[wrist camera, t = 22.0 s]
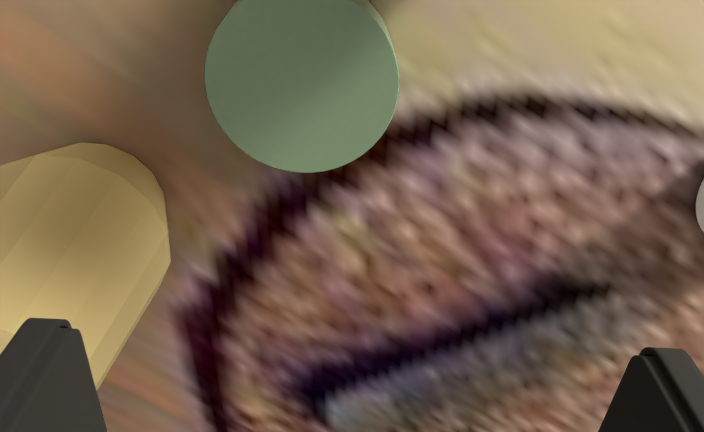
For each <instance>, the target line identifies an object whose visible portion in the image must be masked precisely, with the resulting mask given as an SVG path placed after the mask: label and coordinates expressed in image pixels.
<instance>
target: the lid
mask: <svg viewBox="0 0 704 432" xmlns="http://www.w3.org/2000/svg"><path fill="white" fill-rule="evenodd" d="M204 81H205V89H206V94H207V98H208V102H209V105H210V108H211V110H212V112H213V115H214V117H215V119H216V120H217V122H218V124H219V126H220V127H221V128H222V130H223V131H224V133H225V134H226V135H227V137H228V138H229V139H230V140H231V141H232V142H233V143H234V144H235V145H236V146H237V147H239V148H240V149H241V150H242V151H243V152H245V153H246V154H248V155H249V156H251V157H252V158H254V159H255V160H257V161H259V162H261V163H263V164H265V165H268V166H271V167H274V168H276V169H280V170H285V171H290V172H298V173H313V172H322V171H327V170H331V169H335V168H338V167H340V166H343V165H345V164H347V163H349V162H351V161H353V160H355V159H357V158H358V157H360V156H361V155H363V154H364V153H365V152H366V151H368V150H369V149H370V148H371V147H372V146H373V145H374V144H375V143H376V142H377V141H378V140H379V138H380V137H381V136H382V135H383V133H384V132H385V130H386V129H387V127H388V125H389V123H390V121H391V119H392V117H393V114H394V111H395V108H396V105H397V100H398V95H399V69H398V65H397V60H396V55H395V52H394V48H393V44H392V40H391V37H390V35H389V32H388V29H387V27H386V25H385V23H384V21H383V19H382V18H381V16H380V15H379V13H378V12H377V10H376V9H375V8H374V6H373V5H372V4H371V3H370V2H369V1H368V0H238V1H237V2H236V3H235V4H234V5H233V6H232V8H231V9H230V10H229V12H228V13H227V15H226V16H225V18H224V19H223V20H222V22H221V23H220V25H219V26H218V28H217V29H216V31H215V33H214V35H213V37H212V40H211V42H210V44H209V47H208V49H207V55H206V61H205V67H204Z"/></svg>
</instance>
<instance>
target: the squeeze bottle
mask: <svg viewBox="0 0 704 432" xmlns="http://www.w3.org/2000/svg"><path fill="white" fill-rule="evenodd" d="M170 263H171V259H170V248H169V236H168V226H167V217H166V208H165V199H164V193H163V191H162V189H161V187H160V185H159V184H158V182H157V180H156V178H155V176H154V175H153V173H152V172H151V171H150V170H149V169H148V168H147V167H145V166H144V165H143V164H142V163H141V162H140V161H139V160H137V159H136V158H135V157H134V156H133V155H131V154H128V153H126V152H124V151H121V150H119V149H117V148H114V147H112V146H110V145H107V144H96V143H84V142H80V143H76V144H73V145H69V146H65V147H62V148H58V149H55V150H51V151H48V152H44V153H40V154H37V155H33V156H30V157H27V158H23V159H20V160H17V161H13V162H10V163H7V164H4V165H0V354H1V353H2V352H3V350H4V349H5V347H6V346H7V345H8V343H9V342H10V340H11V339H12V338H13V336H14V335H15V333H16V332H17V331H18V329H19V328H20V326H21V325H22V324H23V323H24V322H25V321H26V320H27V319H29V318H49V319H66V320H68V321H69V322H70V324H71V326H72V328H73V329H79V330H80V332H81V335H82V338H83V342H84V346H85V350H86V353H87V357H88V361H89V365H90V369H91V372H92V376H93V380H94V384H95V387H96V391H97V390H98V388H99V387H100V385H101V383H102V382H103V380H104V378H105V377H106V375H107V373H108V372H109V370H110V368H111V367H112V365H113V363H114V362H115V360H116V358H117V357H118V355H119V353H120V352H121V350H122V348H123V347H124V345H125V343H126V342H127V340H128V338H129V337H130V335H131V333H132V332H133V330H134V328H135V327H136V325H137V323H138V322H139V320H140V318H141V317H142V315H143V313H144V312H145V310H146V308H147V307H148V305H149V303H150V302H151V300H152V298H153V297H154V295H155V293H156V292H157V290H158V288H159V287H160V285H161V282H162V280H163V278H164V276H165V274H166V271H167V269H168V267H169V265H170Z"/></svg>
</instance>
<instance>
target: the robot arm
mask: <svg viewBox="0 0 704 432" xmlns="http://www.w3.org/2000/svg"><path fill="white" fill-rule="evenodd" d="M0 432H107V429H106V425H105V421H104V418H103V414H102V410H101V406H100V403H99V399H98V395H97V391H96V387H95V384H94V380H93V376H92V372H91V369H90V365H89V361H88V357H87V353H86V350H85V346H84V342H83V338H82V335H81V332H80V330H79V329H73V328H72V326H71V324H70V322H69V321H68V320H66V319H49V318H29V319H27V320H26V321H25V322H24V323H23V324H22V325H21V326H20V328H19V329H18V331H17V332H16V333H15V335H14V336H13V338H12V339H11V340H10V342H9V343H8V345H7V346H6V347H5V349H4V350H3V352H2V353H1V354H0ZM598 432H704V377H703V375H702V374H701V372H700V371H699V369H698V368H697V366H696V365H695V363H694V362H693V360H692V359H691V357H690V356H689V355H688V353H687V352H686V351H684V350H682V349H672V348H651V347H646V348H644V349H643V350H642V351H641V353H640V354H639V356H638V355H635V356H633V357H632V358H631V360H630V362H629V364H628V366H627V368H626V371H625V373H624V375H623V377H622V380H621V382H620V384H619V386H618V389H617V391H616V393H615V395H614V398H613V400H612V402H611V404H610V407H609V409H608V411H607V413H606V415H605V418H604V420H603V422H602V424H601V427H600V429H599V431H598Z"/></svg>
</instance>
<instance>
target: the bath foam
mask: <svg viewBox="0 0 704 432" xmlns="http://www.w3.org/2000/svg"><path fill="white" fill-rule="evenodd" d="M696 216H697V220H698V223H699V226H700V228H701V229H702V231H703V233H704V179H703V181H702V183H701V186H700V188H699V191H698V194H697V199H696Z"/></svg>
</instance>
